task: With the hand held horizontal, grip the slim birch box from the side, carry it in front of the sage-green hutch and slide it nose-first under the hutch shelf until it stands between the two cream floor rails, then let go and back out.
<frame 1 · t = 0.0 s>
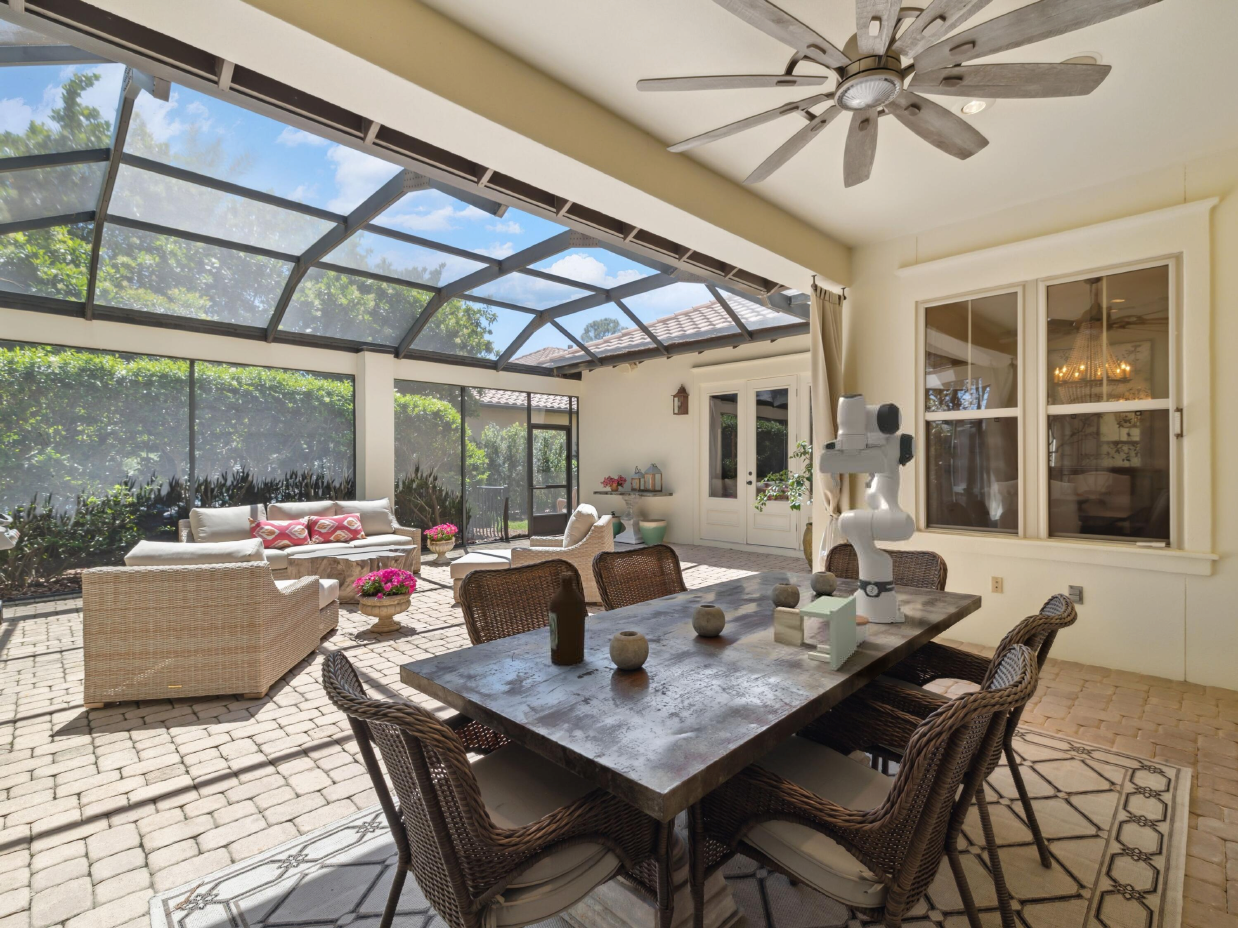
hand: (852, 487, 189), 48 cm above the table, tool pointing down, fingers open, 8 cm apart
birch box: (789, 641, 187), on the table
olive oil: (567, 661, 170), on the table
hutch: (834, 657, 171), on the table
lidded jar: (850, 643, 185), on the table
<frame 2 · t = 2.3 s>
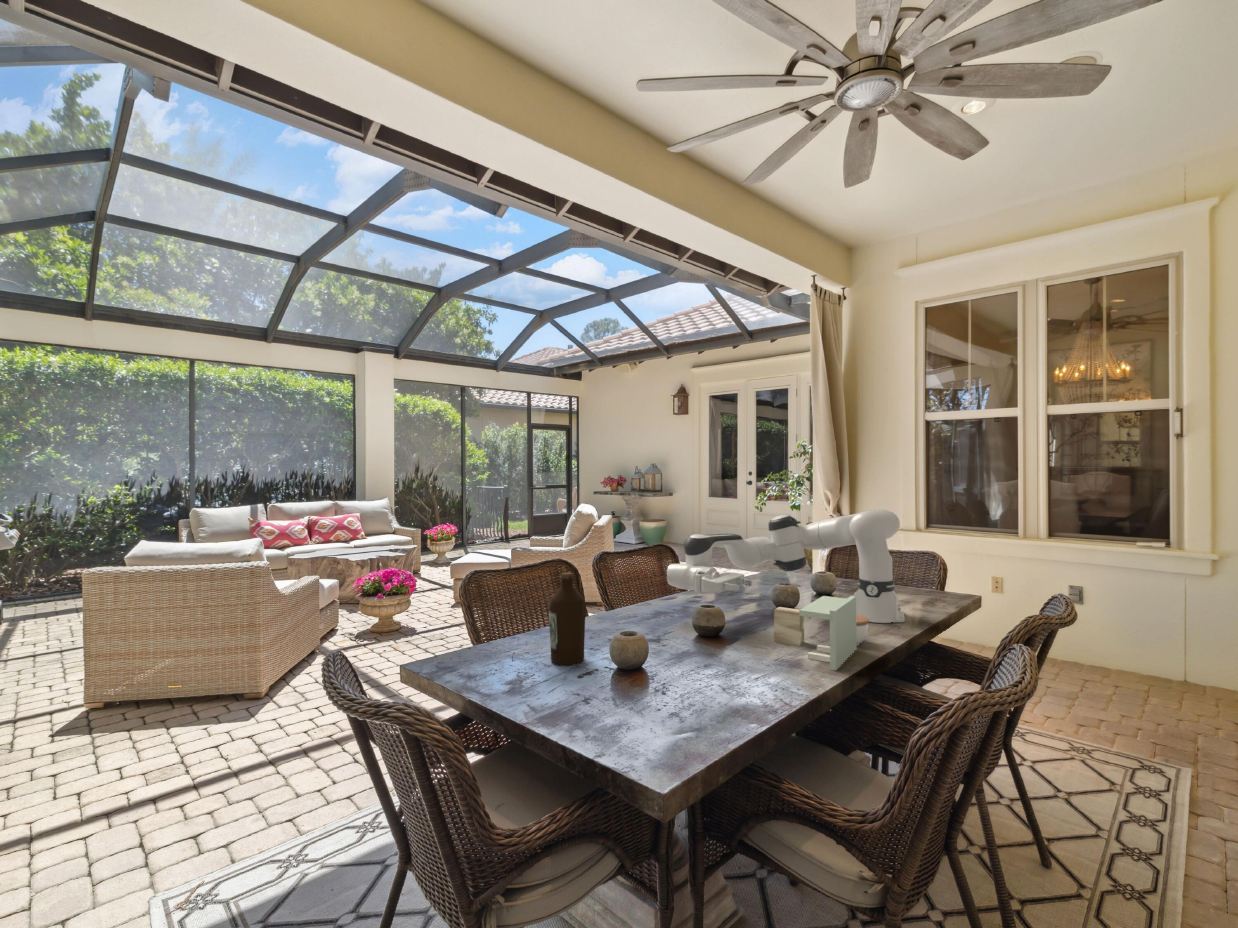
hand: (745, 585, 196), 16 cm above the table, tool horizontal, fingers open, 8 cm apart
nothing on the table moved.
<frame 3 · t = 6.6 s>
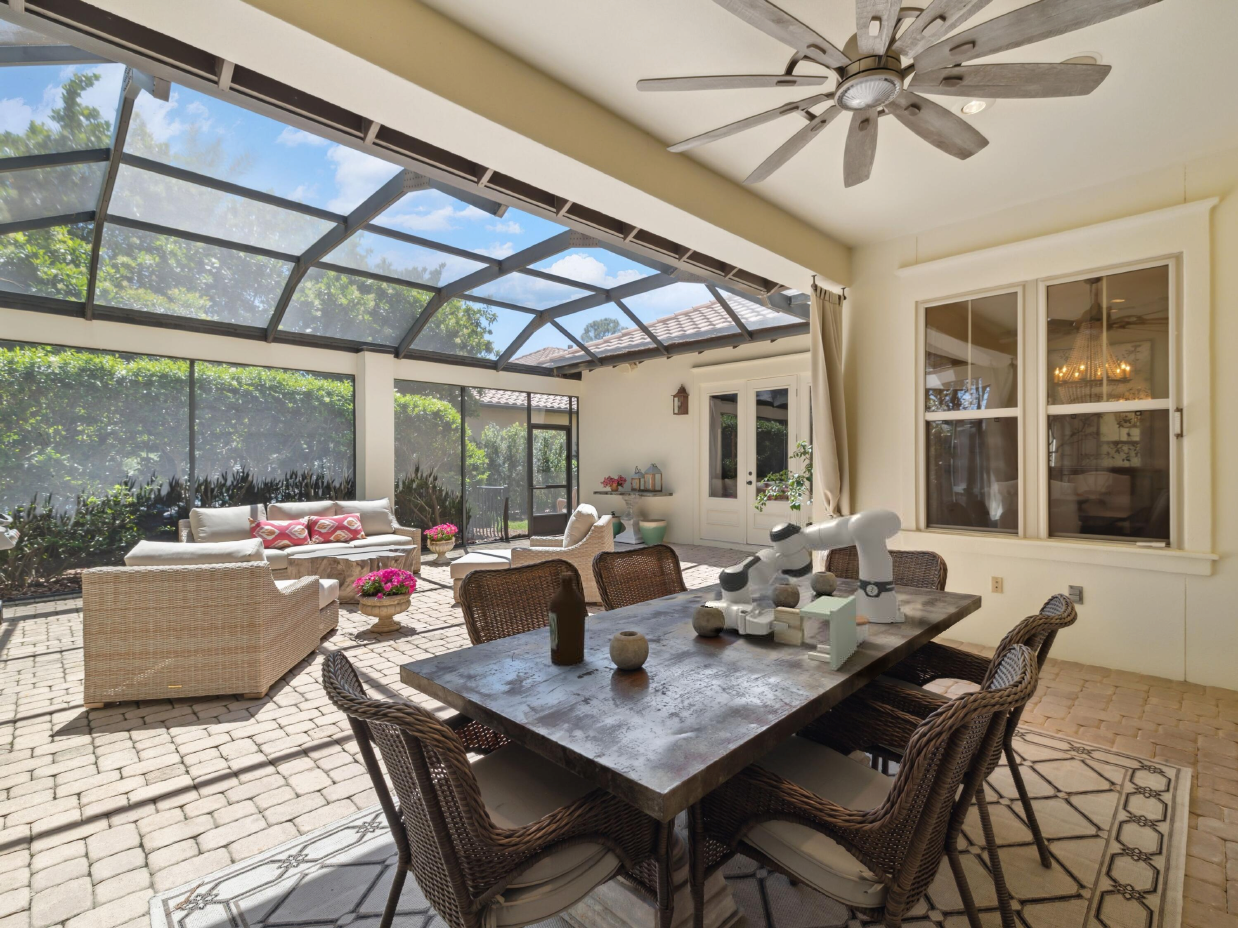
hand: (791, 624, 186), 6 cm above the table, tool horizontal, fingers closed on birch box, 4 cm apart
birch box: (789, 641, 187), on the table, touching gripper
everything else where it was.
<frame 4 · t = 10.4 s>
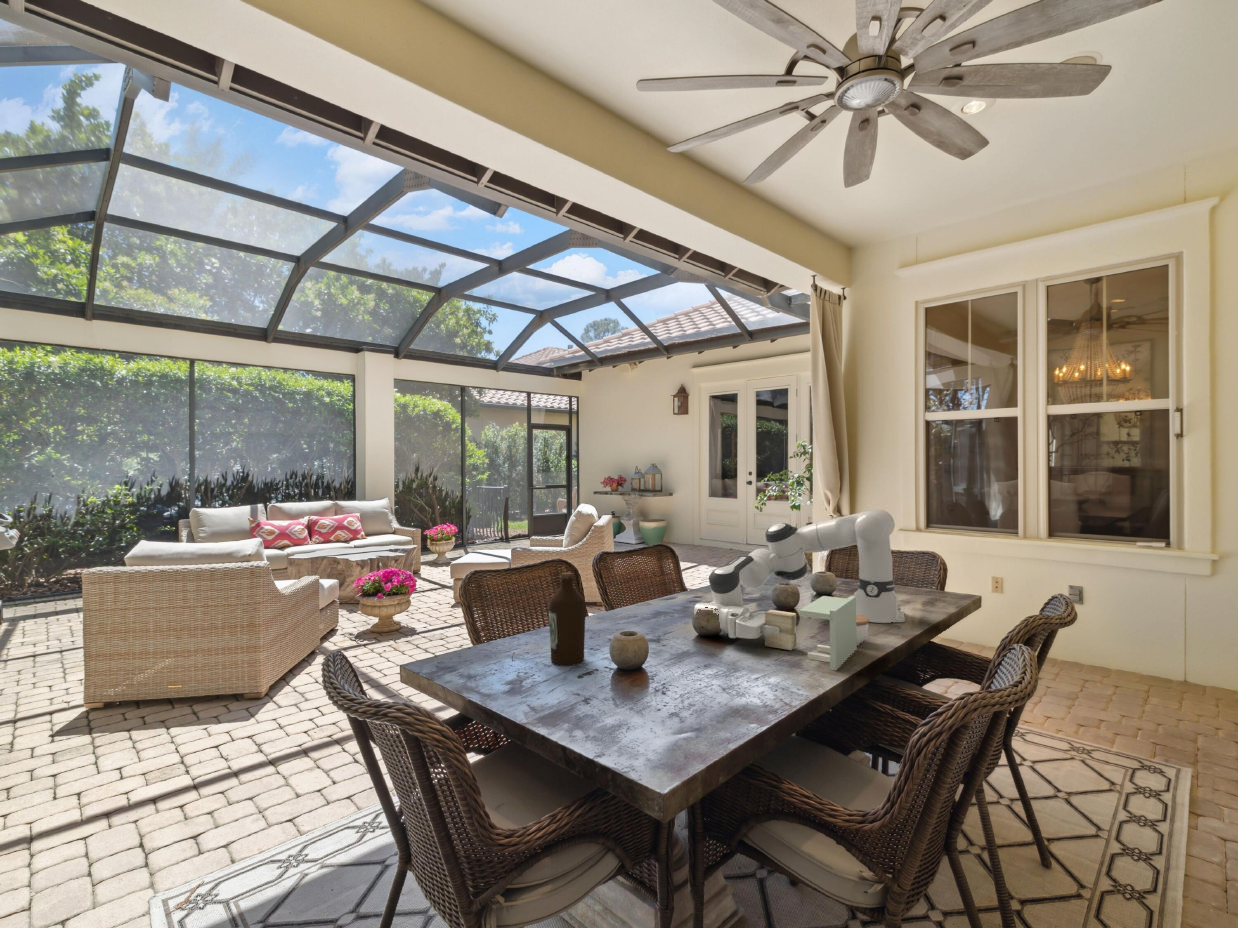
hand: (783, 628, 179), 6 cm above the table, tool horizontal, fingers closed on birch box, 4 cm apart
birch box: (780, 645, 180), point 1 cm above the table, touching gripper
everything else where it was.
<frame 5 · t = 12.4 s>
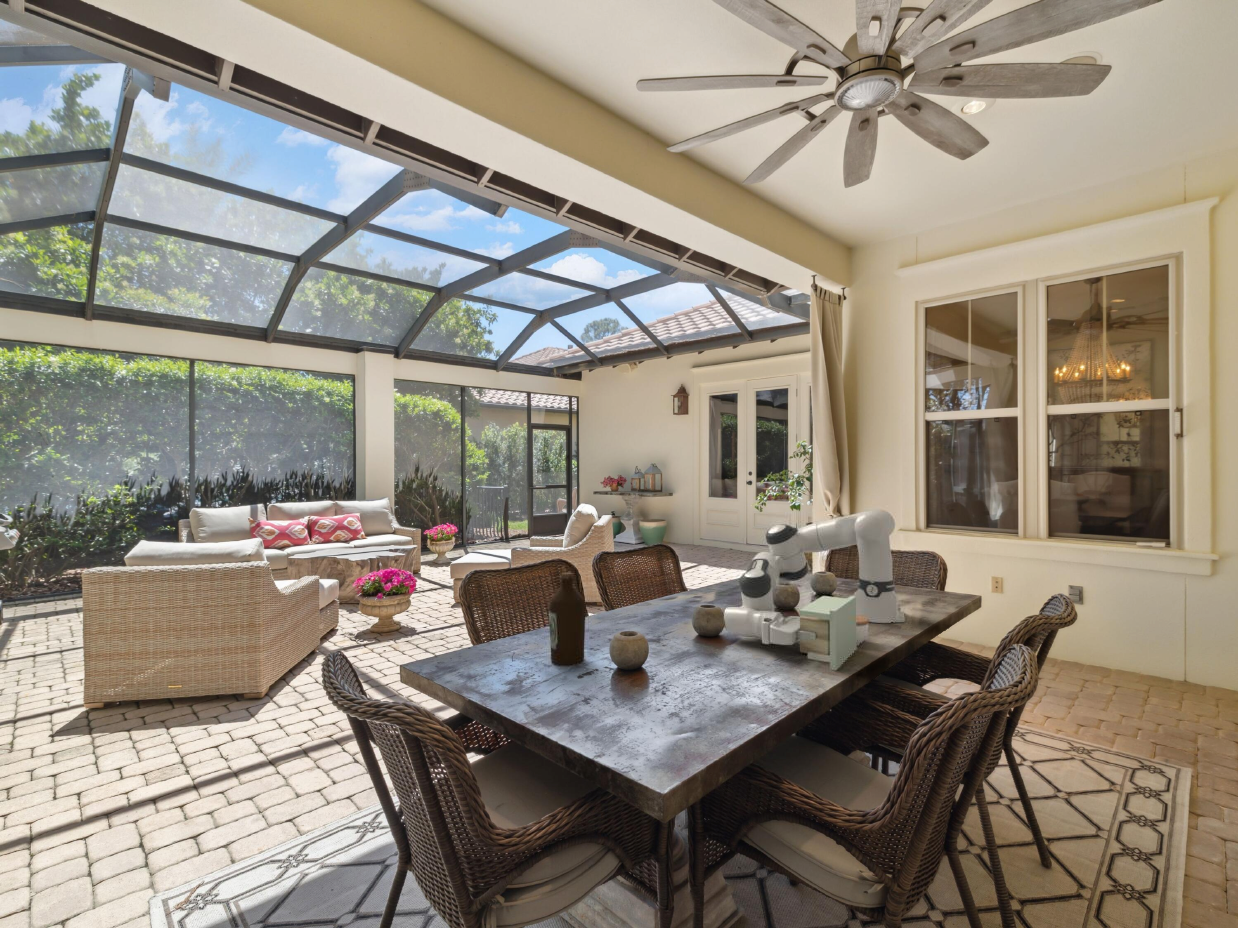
hand: (819, 633, 173), 6 cm above the table, tool horizontal, fingers closed on birch box, 4 cm apart
birch box: (816, 652, 174), point 1 cm above the table, touching gripper
everything else where it was.
when the fingers open (6 cm above the table, at t = 14.2 s): birch box stays where it is, on the table.
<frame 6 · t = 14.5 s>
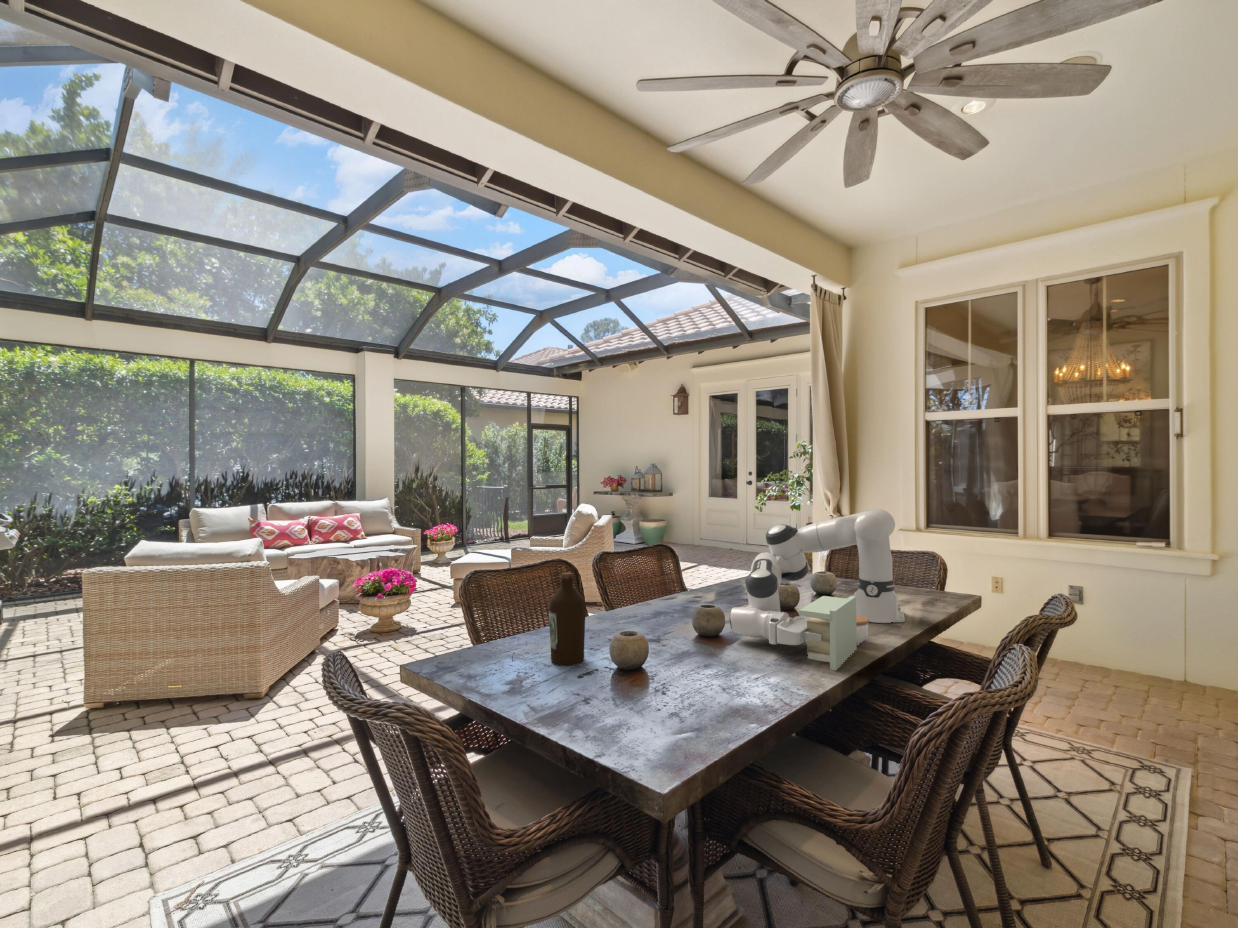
hand: (826, 633, 172), 6 cm above the table, tool horizontal, fingers open, 7 cm apart
birch box: (823, 655, 173), on the table
everything else where it was.
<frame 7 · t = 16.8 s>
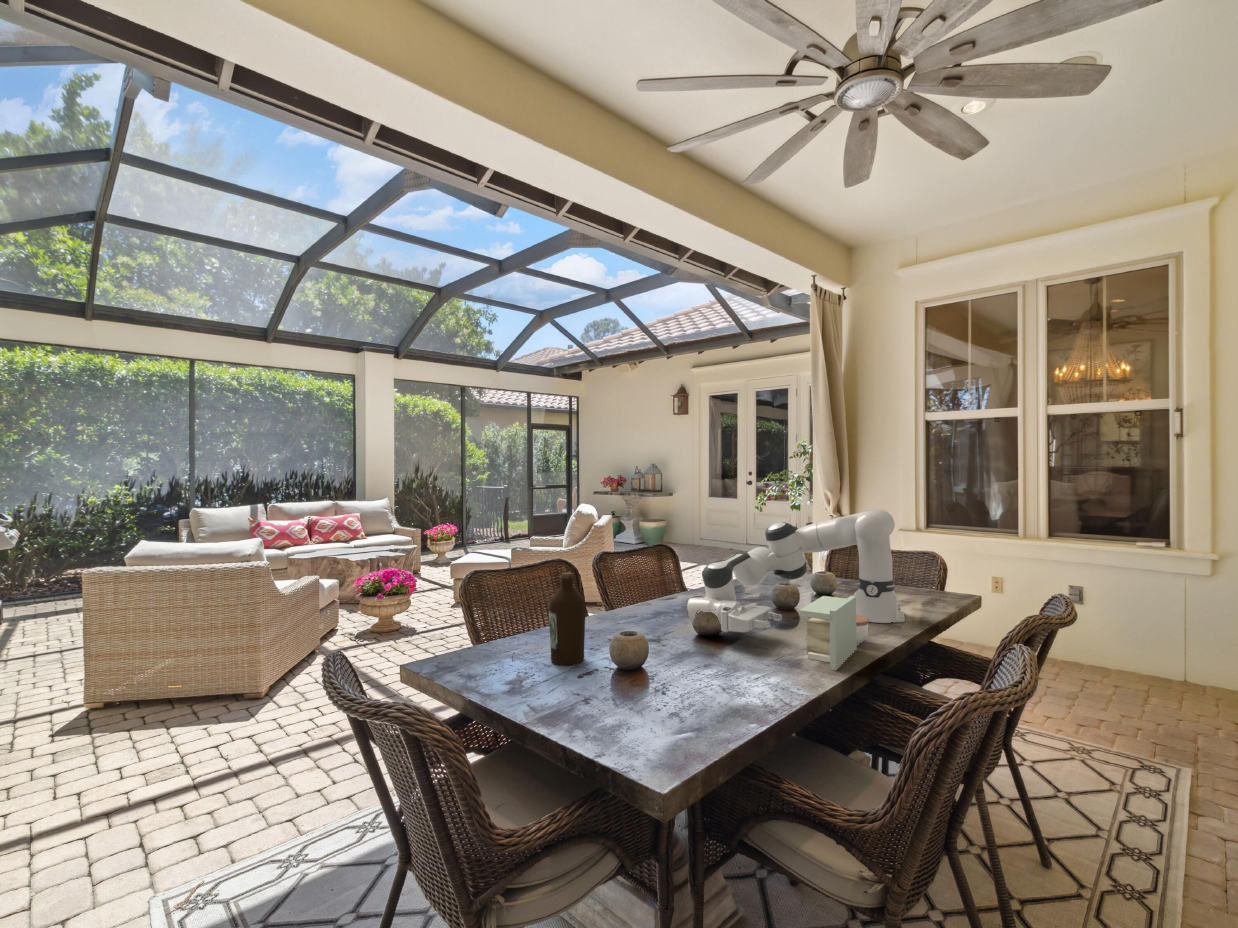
hand: (775, 621, 181), 8 cm above the table, tool horizontal, fingers open, 8 cm apart
nothing on the table moved.
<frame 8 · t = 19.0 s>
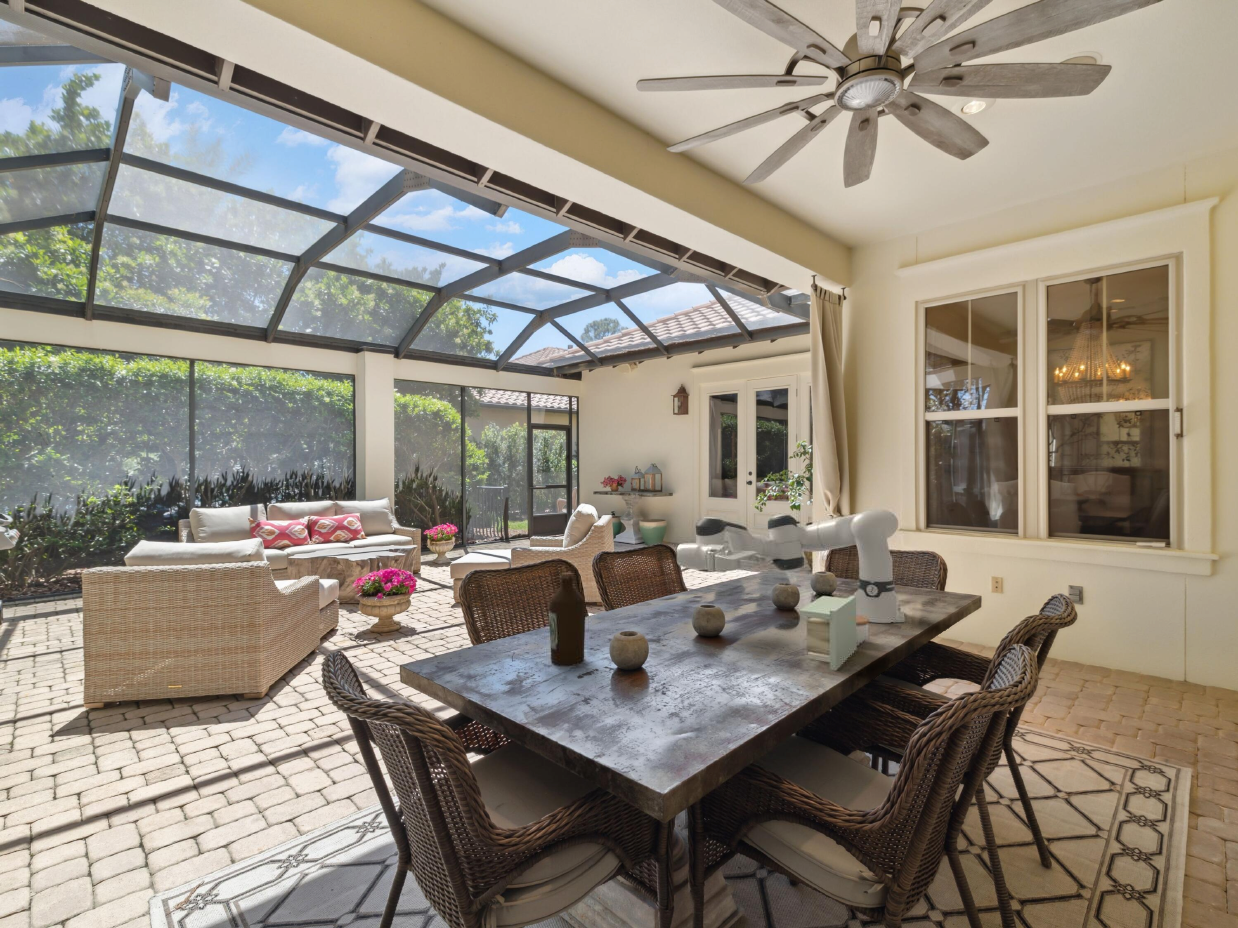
hand: (760, 562, 187), 25 cm above the table, tool horizontal, fingers open, 8 cm apart
nothing on the table moved.
at the end: birch box 0.4 cm from the target spot on the hutch, point 0.0 cm above the hutch's base; birch box tilted 0°; the gripper is holding nothing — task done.
